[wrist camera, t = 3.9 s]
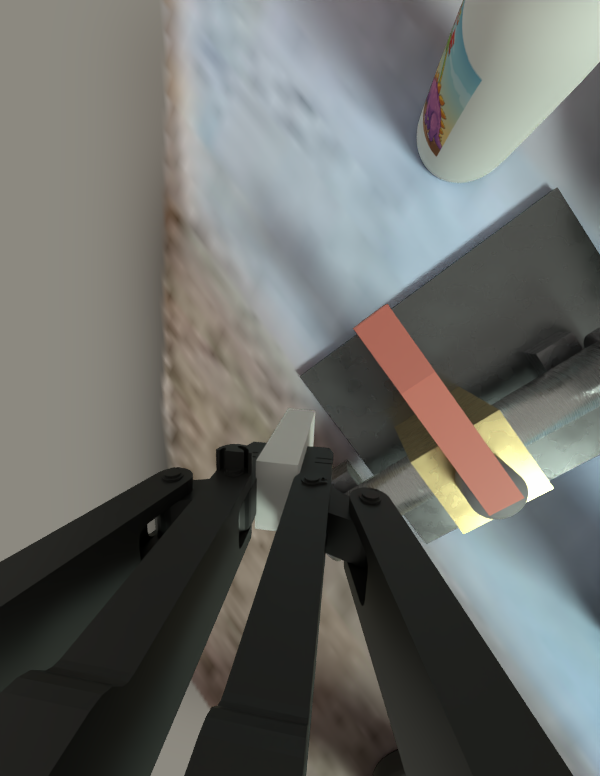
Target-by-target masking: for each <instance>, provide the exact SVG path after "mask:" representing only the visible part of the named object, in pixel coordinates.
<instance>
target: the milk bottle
mask: <svg viewBox="0 0 600 776" xmlns="http://www.w3.org/2000/svg"><path fill="white" fill-rule="evenodd" d="M599 62H600V0H463V2H462V4H461V7H460V9H459V12H458V15H457V17H456V20H455V23H454V25H453V28H452V31H451V33H450V36H449V39H448V41H447V44H446V47H445V49H444V52H443V55H442V57H441V60H440V63H439V65H438V68H437V71H436V74H435V76H434V79H433V82H432V84H431V87H430V90H429V93H428V96H427V98H426V101H425V104H424V107H423V109H422V112H421V116H420V119H419V123H418V128H417V147H418V151H419V155H420V157H421V160H422V161H423V163H424V165H425V166H426V168H427V169H428V170H429V171H430V172H431V173H432V174H433V175H435V176H436V177H438V178H439V179H442V180H444V181H447V182H453V183H465V182H471V181H474V180H477V179H479V178H482V177H484V176H485V175H487V174H489V173H490V172H492V171H493V170H494V169H495V168H496V167H498V166H499V165H500V164H501V163H502V162H503V161H504V160H505V159H506V158H507V157H508V156H509V155H510V154H511V153H512V152H513V151H514V150H515V149H516V148H517V147H518V146H519V145H520V144H521V143H522V142H523V141H524V140H525V139H526V138H527V137H528V136H529V135H530V134H531V133H532V132H533V131H534V130H535V129H536V128H537V127H538V126H539V125H540V124H541V123H542V122H543V121H544V120H545V119H546V118H547V117H548V116H549V115H550V114H551V113H552V112H553V111H554V109H555V108H556V107H557V106H558V105H559V104H560V103H561V102H562V101H563V100H564V99H565V98H566V97H567V96H568V95H569V94H570V93H571V92H572V91H573V90H574V89H575V88H576V87H577V86H578V85H579V84H580V83H581V82H582V81H583V80H584V78H585V77H586V76H587V75H588V74H589V73H590V72H591V71H592V70H593V69H594V67H595V66H596V65H597V64H598V63H599Z"/></svg>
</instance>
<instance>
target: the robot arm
mask: <svg viewBox="0 0 600 776" xmlns="http://www.w3.org/2000/svg"><path fill="white" fill-rule="evenodd" d="M314 425H315V411H314V410H302V409H290V408H288V410H287V411H286V413H285V415H284V416H283V418H282V420H281V421H280V423H279V424H278V426H277V428H276V429H275V431H274V432H273V434H272V436H271V437H270V439H269V441H268V442H267V443H261V442H253V443H251V444H249V445H247V446H246V445H241V444H230V445H225V446H222V447H219V448H218V449H216V466H217V471H216V472H215V473H214V474H213V475H212V477H211V478H210V479H203V480H193V473H192V472H191V471H190V470H188V469H185V468H180V467H176V468H175V467H174V468H170V469H166V470H163V471H161V472H158V473H157V474H155V475H153V476H151V477H150V478H148V479H146V480H144V481H142V482H141V483H139V484H137V485H135V486H134V487H132V488H130V489H128V490H127V491H125V492H123V493H121V494H120V495H118V496H116V497H114V498H112V499H111V500H109V501H107V502H105V503H104V504H102V505H100V506H98V507H97V508H95V509H93V510H91V511H89V512H88V513H86V514H84V515H83V516H81V517H79V518H77V519H75V520H74V521H72V522H70V523H68V524H67V525H65V526H63V527H61V528H59V529H58V530H56V531H54V532H52V533H51V534H49V535H47V536H46V537H44V538H42V539H40V540H38V541H37V542H35V543H33V544H31V545H29V546H28V547H26V548H24V549H22V550H21V551H19V552H17V553H15V554H14V555H12V556H10V557H8V558H7V559H5V560H3V561H1V562H0V776H150V775H151V773H152V770H153V768H154V766H155V763H156V761H157V759H158V756H159V754H160V751H161V749H162V747H163V744H164V742H165V740H166V737H167V735H168V732H169V730H170V728H171V726H172V723H173V720H174V718H175V716H176V714H177V711H178V709H179V707H180V704H181V702H182V699H183V697H184V695H185V692H186V690H187V687H188V685H189V683H190V681H191V678H192V676H193V673H194V671H195V669H196V666H197V664H198V662H199V659H200V657H201V655H202V652H203V650H204V647H205V645H206V643H207V640H208V638H209V636H210V633H211V631H212V628H213V626H214V624H215V621H216V619H217V617H218V614H219V612H220V610H221V607H222V605H223V602H224V600H225V598H226V595H227V593H228V591H229V588H230V586H231V584H232V581H233V579H234V576H235V574H236V572H237V569H238V567H239V565H240V562H241V560H242V558H243V555H244V553H245V550H246V548H247V546H248V543H249V541H250V539H251V533H252V522H253V520H254V518H255V528H256V529H263V530H271V531H276V534H275V537H274V540H273V543H272V546H271V549H270V552H269V555H268V558H267V561H266V565H265V568H264V571H263V574H262V577H261V580H260V583H259V586H258V589H257V592H256V595H255V598H254V601H253V605H252V608H251V611H250V614H249V617H248V620H247V623H246V626H245V629H244V632H243V635H242V638H241V641H240V645H239V648H238V651H237V654H236V657H235V660H234V663H233V666H232V669H231V672H230V675H229V678H228V681H227V684H226V688H225V691H224V693H223V696H222V699H221V701H220V703H219V704H218V706H214V707H212V708H211V709H210V711H209V713H208V714H207V716H206V718H205V721H204V723H203V726H202V728H201V730H200V733H199V736H198V739H197V741H196V744H195V747H194V750H193V753H192V755H191V758H190V761H189V764H188V767H187V770H186V772H185V775H184V776H306V770H307V759H308V747H309V736H310V725H311V713H312V702H313V690H314V679H315V667H316V656H317V644H318V633H319V621H320V610H321V599H322V587H323V576H324V566H325V554H326V553H327V554H329V555H332V556H334V557H336V558H339V559H341V560H344V569H345V573H346V576H347V579H348V583H349V586H350V589H351V593H352V596H353V600H354V603H355V606H356V610H357V613H358V616H359V620H360V623H361V626H362V630H363V633H364V636H365V640H366V643H367V647H368V650H369V653H370V657H371V660H372V663H373V667H374V670H375V673H376V677H377V680H378V683H379V687H380V690H381V694H382V697H383V700H384V704H385V707H386V710H387V714H388V717H389V720H390V724H391V727H392V730H393V734H394V737H395V740H396V744H397V747H398V751H395V752H393V753H391V754H389V755H388V756H386V757H385V758H384V759H382V760H381V761H380V762H379V764H378V765H377V767H376V768H375V770H374V773H373V776H573V775H572V773H571V771H570V770H569V768H568V767H567V765H566V764H565V762H564V761H563V759H562V758H561V756H560V755H559V753H558V752H557V750H556V749H555V747H554V746H553V744H552V743H551V741H550V740H549V738H548V737H547V735H546V734H545V732H544V731H543V729H542V728H541V726H540V725H539V723H538V721H537V720H536V718H535V717H534V715H533V714H532V712H531V711H530V709H529V708H528V706H527V705H526V703H525V702H524V700H523V699H522V697H521V696H520V694H519V693H518V691H517V690H516V688H515V687H514V685H513V684H512V682H511V681H510V679H509V678H508V676H507V674H506V673H505V671H504V670H503V668H502V667H501V665H500V664H499V662H498V661H497V659H496V658H495V656H494V655H493V653H492V652H491V650H490V649H489V647H488V646H487V644H486V643H485V641H484V640H483V638H482V637H481V635H480V634H479V632H478V631H477V629H476V628H475V626H474V624H473V623H472V621H471V620H470V618H469V617H468V615H467V614H466V612H465V611H464V609H463V608H462V606H461V605H460V603H459V602H458V600H457V599H456V597H455V596H454V594H453V593H452V591H451V590H450V588H449V587H448V585H447V584H446V582H445V581H444V579H443V577H442V576H441V574H440V573H439V571H438V570H437V568H436V567H435V565H434V564H433V562H432V561H431V559H430V558H429V556H428V555H427V553H426V552H425V550H424V549H423V547H422V546H421V544H420V543H419V541H418V540H417V538H416V537H415V535H414V534H413V532H412V531H411V529H410V527H409V526H408V524H407V523H406V521H405V520H404V518H403V517H402V515H401V514H400V512H399V511H398V509H397V508H396V506H395V505H394V503H393V502H392V500H391V499H390V497H389V496H388V495H387V494H386V493H384V492H382V491H380V490H378V489H374V488H371V487H369V488H367V487H362V488H357V489H355V490H352V492H351V493H350V496H349V495H346V494H343V493H341V492H339V491H337V490H336V489H335V488H334V487H333V486H332V484H331V479H332V465H333V452H332V451H331V450H330V449H329V448H321V447H313V443H314ZM153 519H155V528H156V530H155V531H153V532H152V533H150V534H148V531H147V524H148V523H149V522H150V521H152V520H153Z"/></svg>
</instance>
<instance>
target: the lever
mask: <svg viewBox="0 0 600 776" xmlns="http://www.w3.org/2000/svg"><path fill="white" fill-rule="evenodd" d="M353 329H354V330H355V332H356V333H357V334H358V336H359V337H360V339H361V340H362V341H363V343H364V344H365V345H366V347H367V348H368V350H369V351H370V352H371V354H372V355H373V356H374V358H375V359H376V361H377V362H378V363H379V365H380V366H381V368H382V369H383V370H384V372H385V373H386V374H387V376H388V377H389V379H390V380H391V381H392V383H393V384H394V385H395V387H396V388H397V390H398V391H399V392H400V394H401V395H402V396H403V398H404V399H405V401H406V402H407V403H408V405H409V406H410V408H411V409H412V410H413V412H414V413H415V414H416V416H417V417H418V419H419V420H420V421H421V423H422V424H423V425H424V427H425V428H426V430H427V431H428V432H429V434H430V435H431V436H432V438H433V439H434V441H435V442H436V443H437V445H438V446H439V448H440V449H441V450H442V452H443V453H444V454H445V456H446V457H447V459H448V460H449V461H450V463H451V464H452V465H453V467H454V468H455V470H456V473H455V481H456V484H457V487H458V488H459V490H460V491H461V493H462V494H463V496H464V497H465V499H466V500H467V502H468V503H469V504H470V506H471V507H472V509H473V510H474V511H475V512H476V513H478V514H479V515H481V516H483V517H485V518H489V519H505V518H509V517H511V516H513V515H515V514H517V513H518V512H519V511H520V510H521V509H522V508H523V507H524V506H525V504H526V502H527V499H528V487H527V484H526V482H525V481H524V479H523V478H522V477H521V476H520V475H519V474H518V473H516V472H515V471H514V470H513V469H512V468H511V467H510V466H509V465H507V464H506V463H505V462H504V461H503V460H502V459H501V458H499V457H498V456H496V455H494V454H493V453H492V451H491V450H490V448H489V447H488V445H487V444H486V443H485V441H484V440H483V438H482V437H481V436H480V434H479V433H478V431H477V430H476V429H475V427H474V426H473V424H472V423H471V421H470V420H469V419H468V417H467V416H466V414H465V413H464V412H463V410H462V409H461V407H460V406H459V405H458V403H457V402H456V400H455V399H454V397H453V396H452V395H451V393H450V392H449V390H448V389H447V388H446V386H445V385H444V383H443V382H442V381H441V379H440V378H439V376H438V375H437V373H436V372H435V370H434V369H433V368H432V366H431V365H430V363H429V362H428V361H427V359H426V358H425V356H424V355H423V353H422V352H421V351H420V349H419V348H418V346H417V345H416V344H415V342H414V341H413V339H412V338H411V337H410V335H409V334H408V332H407V331H406V329H405V328H404V327H403V325H402V324H401V322H400V321H399V320H398V318H397V317H396V315H395V314H394V313H393V311H392V310H391V308H390V307H389V305H388V304H386V305H384V306H382V307H381V308H379V309H378V310H377V311H375V312H374V313H373V314H371V315H370V316H369V317H367V318H366V319H365V320H363V321H362V322H361V323H359V324H358V325H357V326H355V327H354V328H353Z"/></svg>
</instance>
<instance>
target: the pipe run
mask: <svg viewBox="0 0 600 776" xmlns="http://www.w3.org/2000/svg"><path fill="white" fill-rule="evenodd" d="M391 310H392V311H393V313H394V314H395V315H396V317H397V318H398V320H399V321H400V322H401V324H402V325H403V327H404V328H405V329H406V331H407V332H408V334H409V335H410V337H411V338H412V339H413V341H414V342H415V344H416V345H417V346H418V348H419V349H420V351H421V352H422V353H423V355H424V356H425V358H426V359H427V361H428V362H429V363H430V365H431V366H432V368H433V369H434V370H435V372H436V373H437V375H438V376H439V378H440V379H441V381H442V382H443V383H444V385H445V386H446V388H447V389H448V390H449V392H450V393H451V395H452V396H453V397H454V399H455V400H456V402H457V403H458V405H459V406H460V407H461V409H462V410H463V412H464V413H465V414H466V416H467V417H468V419H469V420H470V421H471V423H472V424H473V426H474V427H475V429H476V430H477V431H478V433H479V434H480V436H481V437H482V438H483V440H484V441H485V443H486V444H487V445H488V447H489V448H490V450H491V451H492V453H493V454H494V455H496V456H498V457H499V458H501V459H502V460H503V461H504V462H505V463H506V464H507V465H509V466H510V467H511V468H512V469H513V470H514V471H515V472H516V473H518V474H519V475H520V476H521V477H522V478H523V479H524V481H525V482H526V484H527V487H528V499H527V502H528V501H530V500H532V499H534V498H536V497H538V496H540V495H542V494H544V493H546V492H548V491H550V490H552V489H554V488H553V486H552V485H551V483H550V482H549V481H550V480H552V479H554V478H556V477H558V476H560V475H562V474H563V473H565V472H567V471H569V470H571V469H573V468H575V467H577V466H579V465H581V464H583V463H585V462H587V461H589V460H591V459H593V458H595V457H596V456H598V455H600V254H599V253H598V251H597V250H596V248H595V246H594V245H593V243H592V242H591V240H590V239H589V237H588V235H587V234H586V232H585V231H584V229H583V227H582V226H581V224H580V223H579V221H578V219H577V218H576V216H575V215H574V213H573V211H572V210H571V208H570V207H569V205H568V204H567V202H566V200H565V199H564V197H563V196H562V194H561V192H560V191H559V189H558V188H555V189H554V190H552V191H551V192H549V193H548V194H547V195H545V196H544V197H543V198H541V199H540V200H539V201H537V202H536V203H535V204H533V205H532V206H530V207H529V208H528V209H526V210H525V211H524V212H522V213H521V214H520V215H518V216H517V217H516V218H514V219H513V220H511V221H510V222H509V223H507V224H506V225H505V226H503V227H502V228H501V229H499V230H498V231H497V232H495V233H494V234H492V235H491V236H490V237H488V238H487V239H486V240H484V241H483V242H482V243H480V244H479V245H478V246H476V247H475V248H473V249H472V250H471V251H469V252H468V253H467V254H465V255H464V256H463V257H461V258H460V259H459V260H457V261H456V262H454V263H453V264H452V265H450V266H449V267H448V268H446V269H445V270H444V271H442V272H441V273H440V274H438V275H437V276H435V277H434V278H433V279H431V280H430V281H429V282H427V283H426V284H425V285H423V286H422V287H421V288H419V289H418V290H416V291H415V292H414V293H412V294H411V295H410V296H408V297H407V298H406V299H404V300H403V301H402V302H400V303H399V304H397V305H396V306H395V307H393V308H392V309H391ZM300 377H301V379H302V380H303V381H304V383H305V384H306V385H307V387H308V388H309V389H310V391H311V392H312V393H313V395H314V396H315V397H316V399H317V400H318V401H319V403H320V404H321V405H322V407H323V408H324V409H325V410H326V412H327V413H328V414H329V416H330V417H331V418H332V420H333V421H334V422H335V424H336V425H337V426H338V428H339V429H340V430H341V432H342V433H343V434H344V436H345V437H346V438H347V440H348V441H349V442H350V444H351V445H352V446H353V448H354V449H355V450H356V452H357V453H358V454H359V456H360V457H361V458H362V460H363V461H364V462H365V464H366V465H367V466H368V467H369V469H370V470H371V471H372V473H373V474H374V476H372V477H371V478H369V479H367V480H366V481H364V482H363V481H362V479H361V478H360V477H359V475H358V474H357V473H356V471H355V470H354V469H353V467H352V466H351V465H350V464H349V462H348V461H345V462H344V463H342V464H340V465H339V466H337V467H336V468H334V469H333V470H332V479H331V484H332V486H333V487H334V488H335V489H336V490H337V491H339V492H341V493H343V494H346V495H349V496H350V493H351V492H352V490H355V489H357V488H362V487H367V488H369V487H371V488H374V489H378V490H380V491H382V492H384V493H386V494H387V495H388V496H389V497H390V499H391V500H392V502H393V503H394V505H395V506H396V508H397V509H398V511H399V512H400V514H401V515H405V517H406V518H407V519H408V521H409V522H410V523H411V524H412V526H413V527H414V528H415V530H416V531H417V532H418V534H419V535H420V536H421V538H422V539H423V540H424V542H425V543H426V544H428V543H430V542H432V541H434V540H436V539H437V538H439V537H441V536H443V535H445V534H447V533H449V532H451V531H453V530H455V529H457V528H459V529H460V530H461V531H462V533H463V534H465V533H467V532H469V531H471V530H473V529H475V528H477V527H479V526H481V525H483V524H485V523H487V522H489V521H491V520H493V519H489V518H485V517H483V516H481V515H479V514H478V513H476V512H475V511H474V510H473V509H472V507H471V506H470V504H469V503H468V502H467V500H466V499H465V497H464V496H463V494H462V493H461V491H460V490H459V488H458V487H457V484H456V481H455V473H456V470H455V468H454V467H453V465H452V464H451V463H450V461H449V460H448V459H447V457H446V456H445V454H444V453H443V452H442V450H441V449H440V448H439V446H438V445H437V443H436V442H435V441H434V439H433V438H432V436H431V435H430V434H429V432H428V431H427V430H426V428H425V427H424V425H423V424H422V423H421V421H420V420H419V419H418V417H417V416H416V414H415V413H414V412H413V410H412V409H411V408H410V406H409V405H408V403H407V402H406V401H405V399H404V398H403V396H402V395H401V394H400V392H399V391H398V390H397V388H396V387H395V385H394V384H393V383H392V381H391V380H390V379H389V377H388V376H387V374H386V373H385V372H384V370H383V369H382V368H381V366H380V365H379V363H378V362H377V361H376V359H375V358H374V356H373V355H372V354H371V352H370V351H369V350H368V348H367V347H366V345H365V344H364V343H363V341H362V340H361V339H360V337H359V336H358V334H357V335H355V336H354V337H353V338H351V339H350V340H349V341H347V342H346V343H345V344H343V345H342V346H340V347H339V348H338V349H336V350H335V351H334V352H332V353H331V354H330V355H328V356H327V357H326V358H324V359H323V360H321V361H320V362H319V363H317V364H316V365H315V366H313V367H312V368H311V369H309V370H308V371H307V372H305V373H304V374H302V375H301V376H300ZM326 554H327V553H326ZM327 555H328V556H329V557H330V558H332V559H333V560H335V561H341V559H339V558H336V557H334V556H332V555H329V554H327Z"/></svg>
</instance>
